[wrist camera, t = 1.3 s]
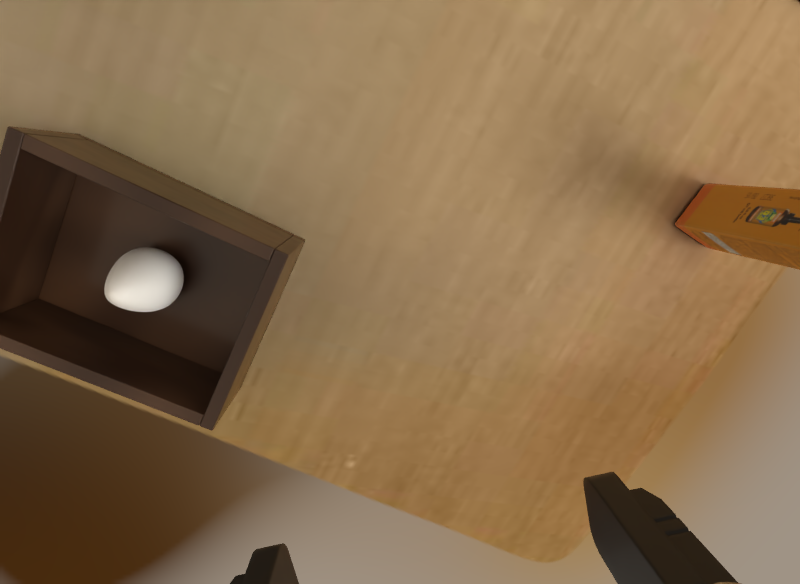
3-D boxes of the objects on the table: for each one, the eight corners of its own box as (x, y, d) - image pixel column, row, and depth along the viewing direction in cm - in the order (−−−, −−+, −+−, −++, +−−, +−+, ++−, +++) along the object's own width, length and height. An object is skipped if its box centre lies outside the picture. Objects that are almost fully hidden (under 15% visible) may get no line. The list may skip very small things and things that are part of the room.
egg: (183, 309, 30) (140, 339, 25) (126, 288, 29) (69, 314, 24) (200, 256, 29) (159, 276, 24) (141, 234, 29) (85, 248, 23)
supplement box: (708, 252, 31) (859, 290, 21) (670, 224, 30) (807, 250, 20) (743, 209, 30) (915, 229, 20) (705, 180, 29) (864, 186, 20)
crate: (28, 302, 30) (-48, 330, 25) (79, 133, 27) (7, 125, 22) (240, 388, 32) (212, 431, 27) (305, 239, 29) (288, 255, 24)
